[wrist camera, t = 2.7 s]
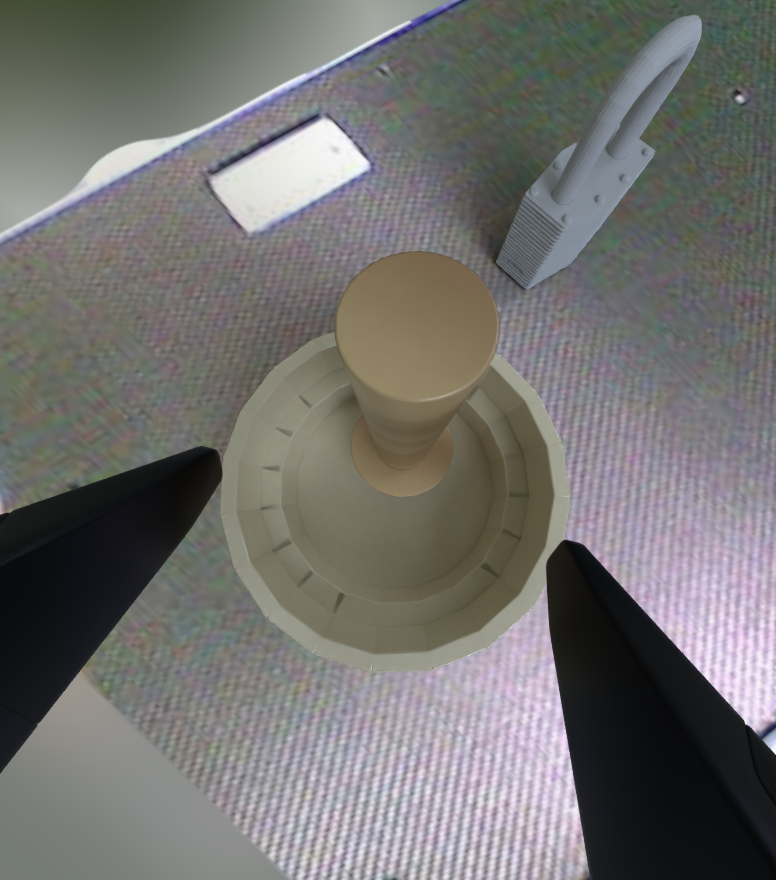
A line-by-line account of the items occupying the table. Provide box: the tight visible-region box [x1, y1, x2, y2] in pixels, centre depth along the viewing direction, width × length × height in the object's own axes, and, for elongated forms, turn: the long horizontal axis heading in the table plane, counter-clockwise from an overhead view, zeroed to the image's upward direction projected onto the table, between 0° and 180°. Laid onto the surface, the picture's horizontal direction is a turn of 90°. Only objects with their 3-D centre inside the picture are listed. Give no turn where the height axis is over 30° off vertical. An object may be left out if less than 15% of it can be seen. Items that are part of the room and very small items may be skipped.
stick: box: [334, 251, 500, 497], centre depth 11 cm, size 5×5×13 cm
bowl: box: [220, 332, 571, 673], centre depth 16 cm, size 14×14×6 cm
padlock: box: [496, 15, 702, 289], centre depth 16 cm, size 7×4×10 cm, turn 131°
